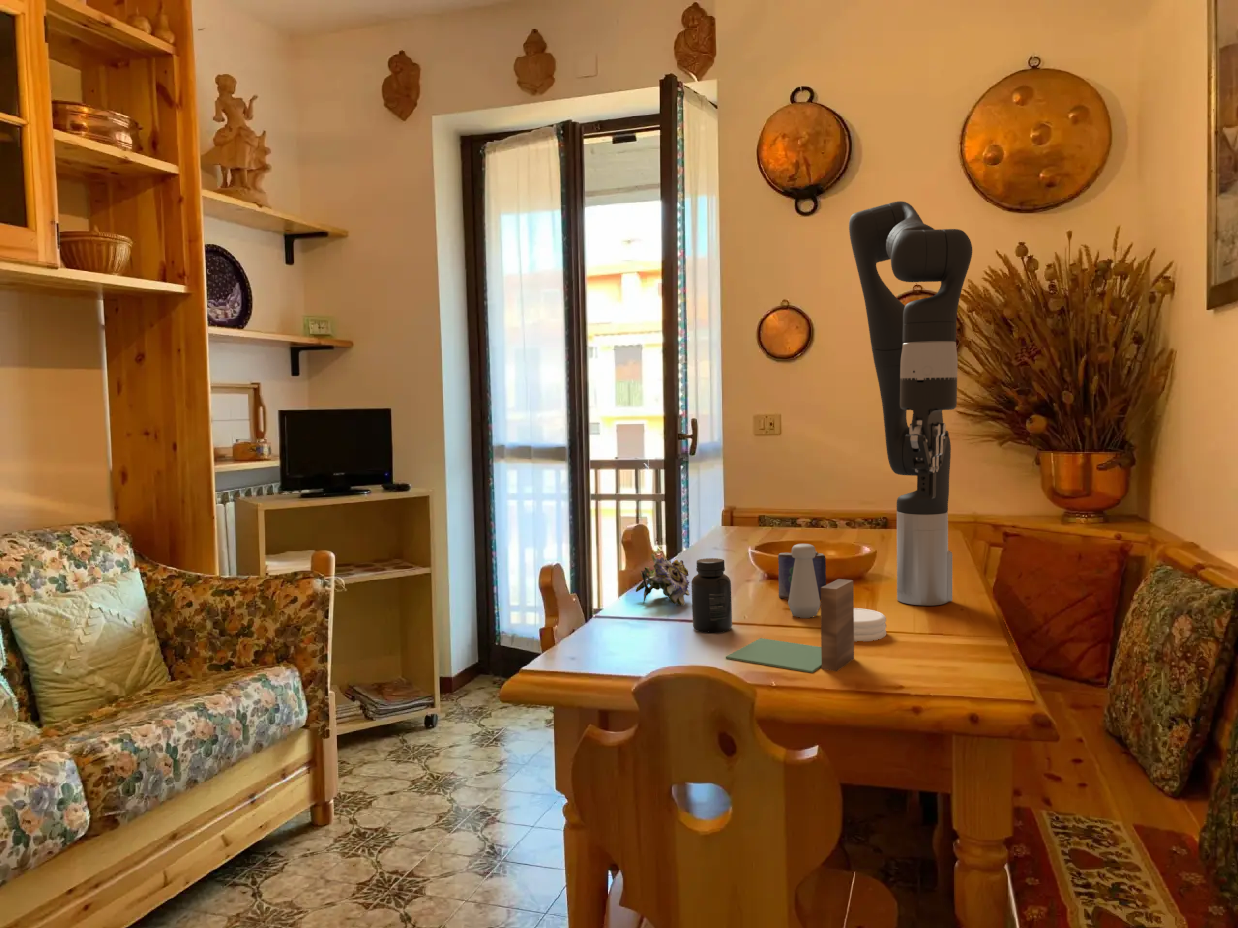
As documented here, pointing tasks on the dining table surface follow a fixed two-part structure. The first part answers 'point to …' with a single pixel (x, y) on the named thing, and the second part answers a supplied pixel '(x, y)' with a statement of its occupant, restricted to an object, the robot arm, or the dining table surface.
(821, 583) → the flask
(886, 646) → the dining table surface
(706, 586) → the supplement bottle
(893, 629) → the dining table surface
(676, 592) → the passion flower
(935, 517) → the robot arm
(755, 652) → the felt mat
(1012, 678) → the dining table surface
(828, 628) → the wooden block
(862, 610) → the coaster
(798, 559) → the salt shaker
